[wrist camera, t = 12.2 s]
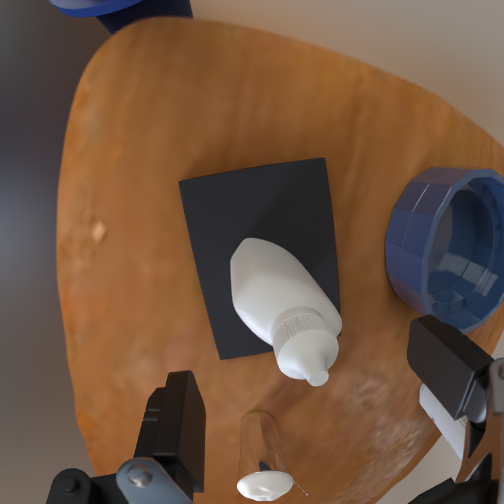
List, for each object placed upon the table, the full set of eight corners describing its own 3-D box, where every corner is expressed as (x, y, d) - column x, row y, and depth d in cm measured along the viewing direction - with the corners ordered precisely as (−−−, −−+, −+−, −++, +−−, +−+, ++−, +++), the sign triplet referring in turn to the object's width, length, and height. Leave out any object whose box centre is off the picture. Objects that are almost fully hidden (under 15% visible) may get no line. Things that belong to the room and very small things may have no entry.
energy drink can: (408, 405, 27) (467, 492, 13) (427, 366, 26) (504, 453, 11) (442, 397, 28) (501, 470, 14) (460, 359, 27) (533, 431, 12)
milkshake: (290, 426, 26) (310, 504, 16) (240, 437, 26) (246, 516, 16) (283, 399, 25) (304, 485, 15) (228, 411, 25) (231, 498, 15)
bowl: (377, 171, 20) (418, 173, 15) (482, 164, 21) (522, 168, 15) (382, 324, 24) (413, 356, 18) (479, 289, 24) (512, 308, 19)
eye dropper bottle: (260, 313, 21) (292, 441, 10) (223, 248, 20) (218, 349, 8) (313, 285, 21) (390, 393, 10) (280, 218, 20) (351, 281, 8)
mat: (180, 181, 19) (178, 181, 18) (321, 158, 20) (325, 157, 19) (220, 354, 23) (220, 360, 22) (337, 330, 23) (340, 335, 23)
